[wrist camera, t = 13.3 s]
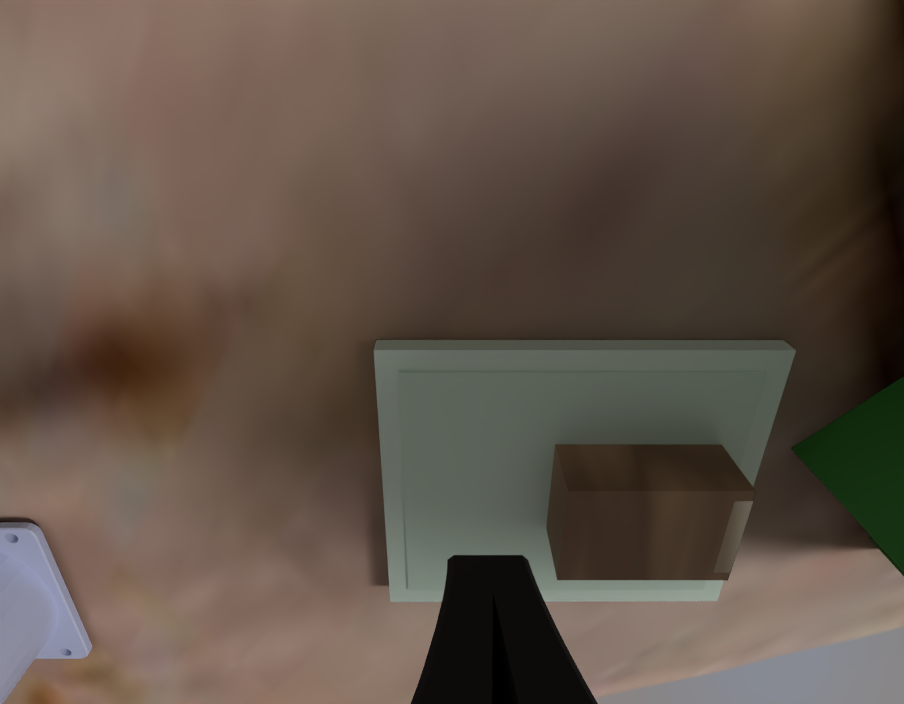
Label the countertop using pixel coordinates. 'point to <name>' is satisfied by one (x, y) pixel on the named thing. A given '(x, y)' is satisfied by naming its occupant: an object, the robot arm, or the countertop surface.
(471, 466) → the tray
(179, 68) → the countertop surface
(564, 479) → the walnut block
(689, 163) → the countertop surface
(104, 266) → the countertop surface
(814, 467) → the hardback book
